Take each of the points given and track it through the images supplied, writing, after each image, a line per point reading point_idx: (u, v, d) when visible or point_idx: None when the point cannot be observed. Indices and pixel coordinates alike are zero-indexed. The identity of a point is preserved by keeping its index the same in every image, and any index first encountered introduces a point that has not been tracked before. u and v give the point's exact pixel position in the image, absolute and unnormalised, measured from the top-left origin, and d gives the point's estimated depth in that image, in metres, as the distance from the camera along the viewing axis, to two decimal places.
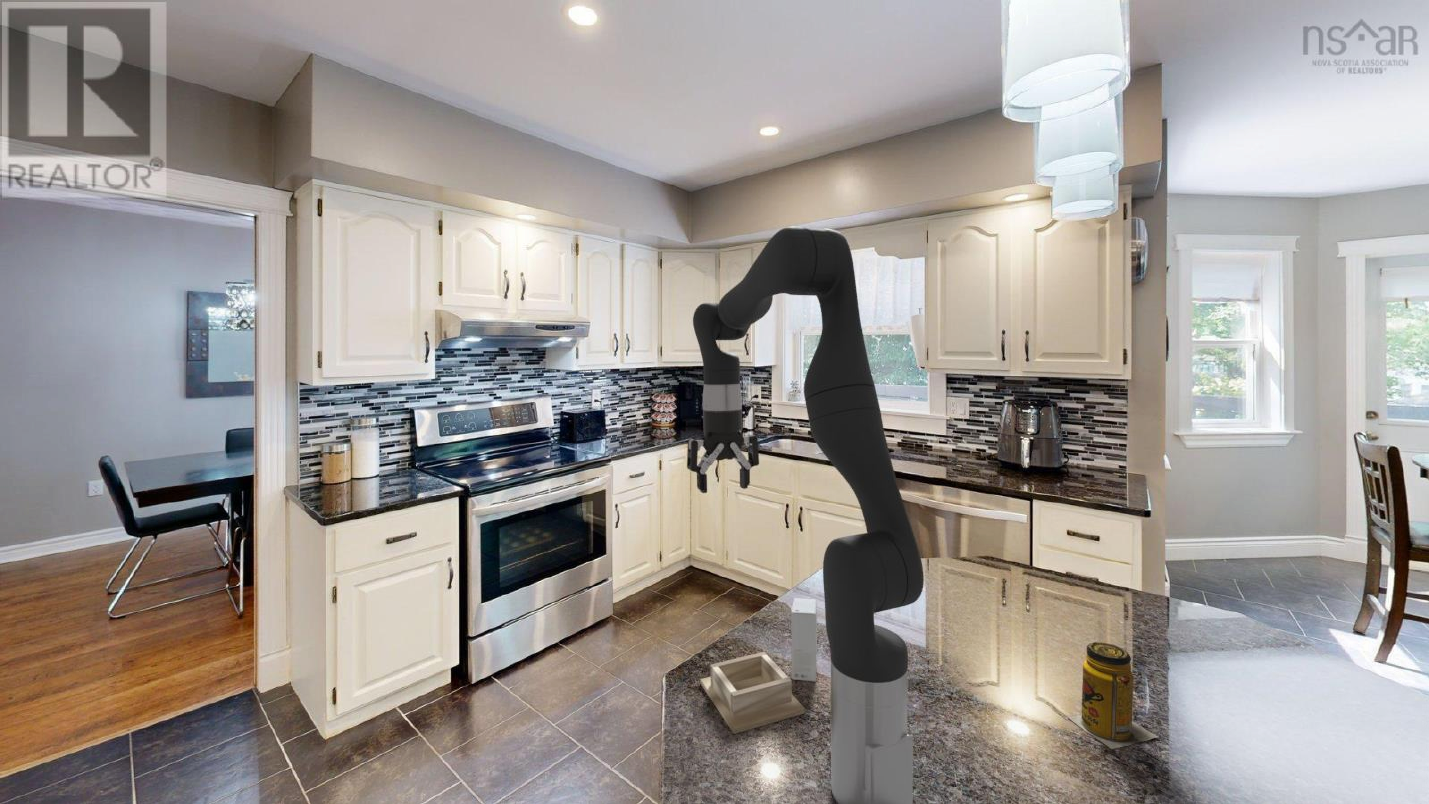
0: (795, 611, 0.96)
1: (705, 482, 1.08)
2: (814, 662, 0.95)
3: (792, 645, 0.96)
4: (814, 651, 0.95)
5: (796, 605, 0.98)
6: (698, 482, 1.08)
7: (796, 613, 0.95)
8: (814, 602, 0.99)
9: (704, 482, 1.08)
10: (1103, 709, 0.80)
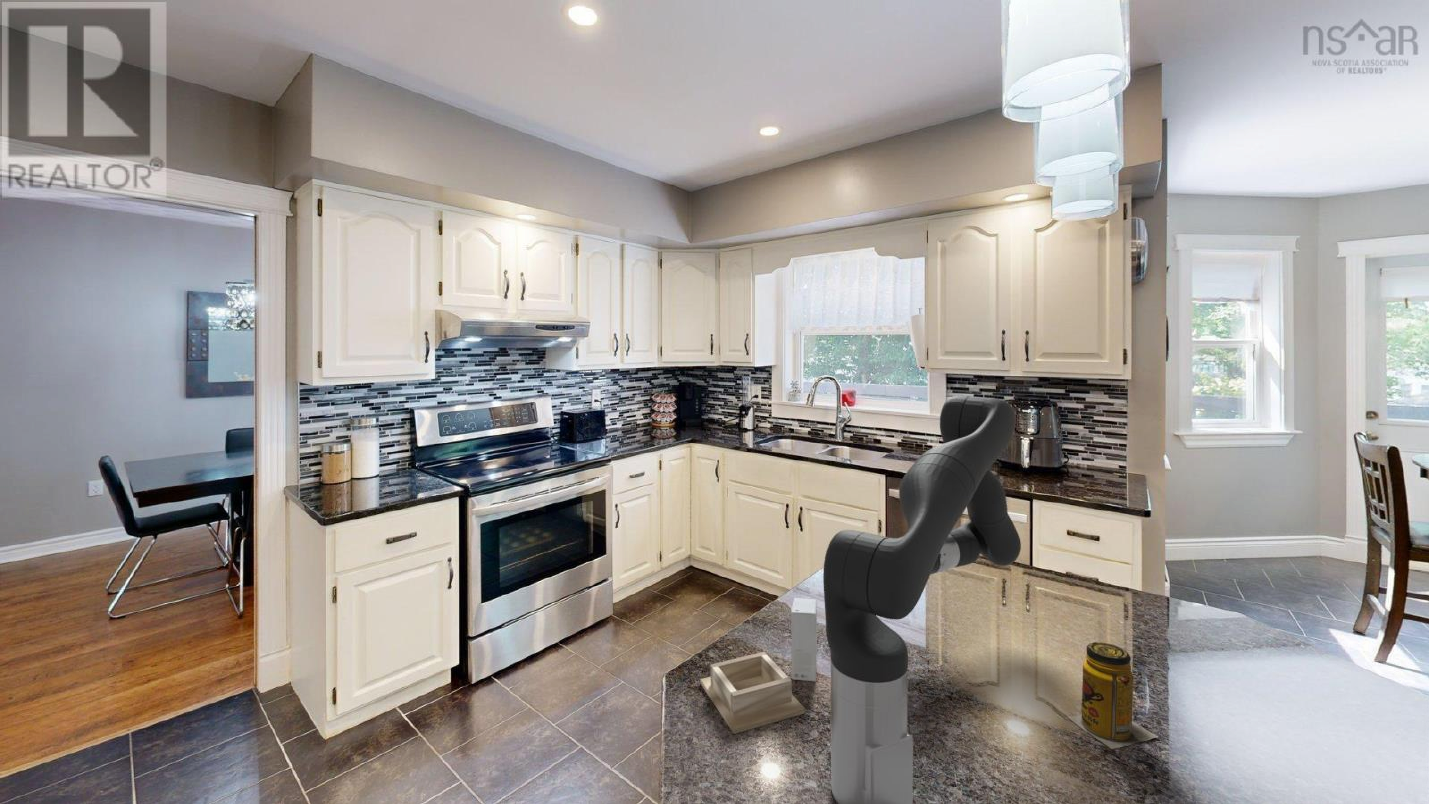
0: (795, 611, 0.96)
1: None
2: (814, 662, 0.95)
3: (792, 645, 0.96)
4: (814, 651, 0.95)
5: (796, 605, 0.98)
6: None
7: (796, 613, 0.95)
8: (814, 602, 0.99)
9: None
10: (1103, 709, 0.80)
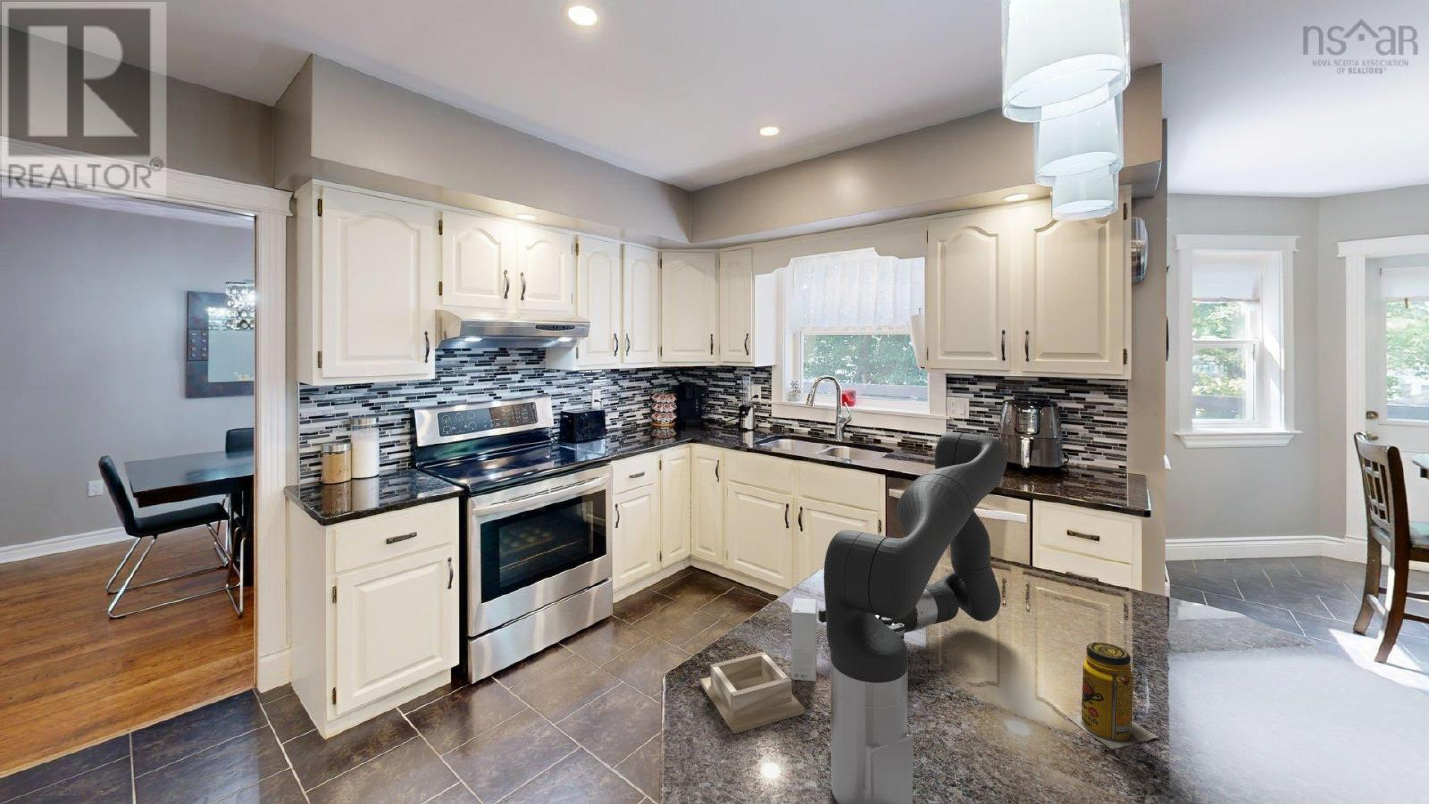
0: (795, 611, 0.96)
1: None
2: (814, 662, 0.95)
3: (792, 645, 0.96)
4: (814, 651, 0.95)
5: (796, 605, 0.98)
6: None
7: (796, 613, 0.95)
8: (814, 602, 0.99)
9: None
10: (1103, 709, 0.80)
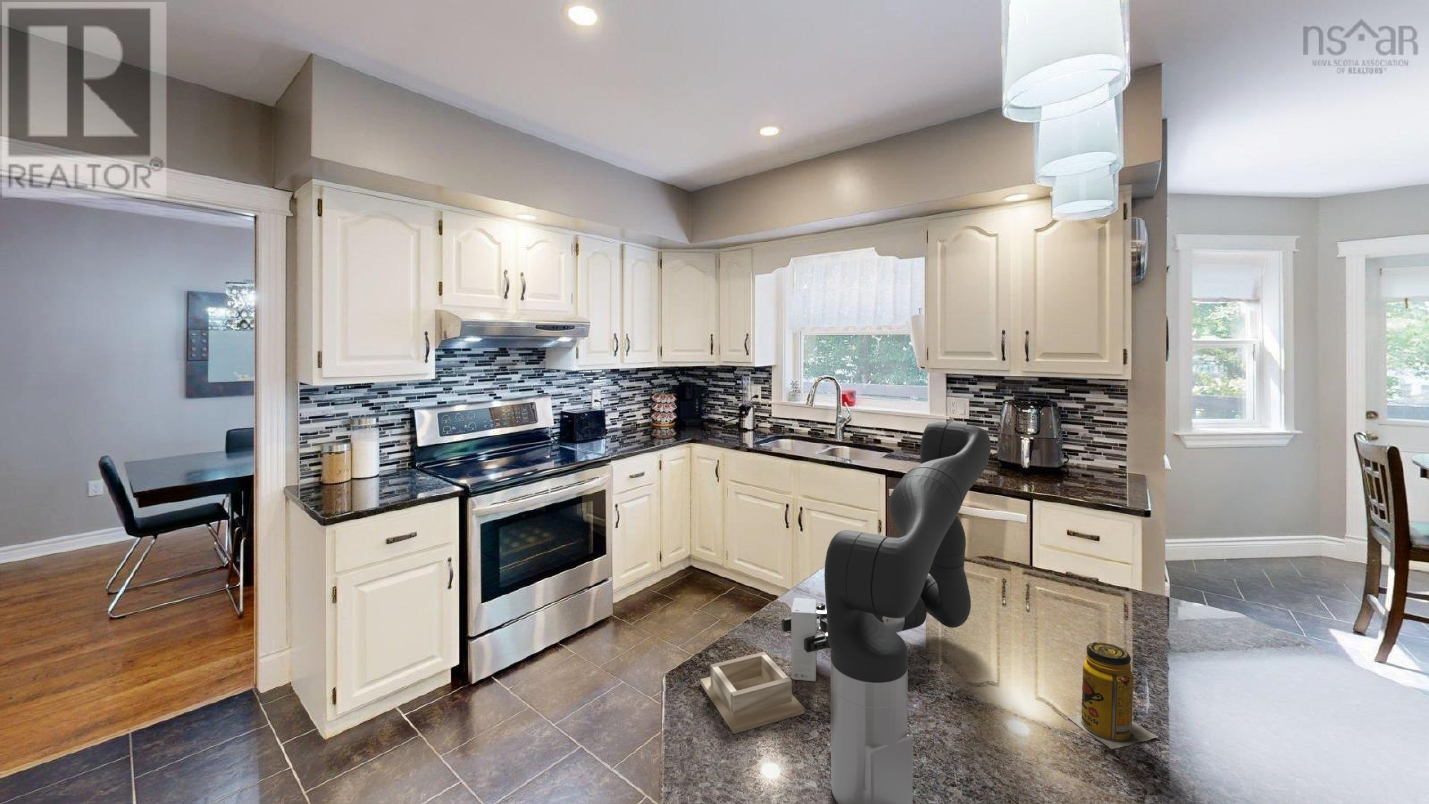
0: (795, 611, 0.96)
1: None
2: (814, 662, 0.95)
3: (792, 645, 0.96)
4: (814, 651, 0.95)
5: (796, 605, 0.98)
6: None
7: (796, 613, 0.95)
8: (814, 602, 0.99)
9: None
10: (1103, 709, 0.80)
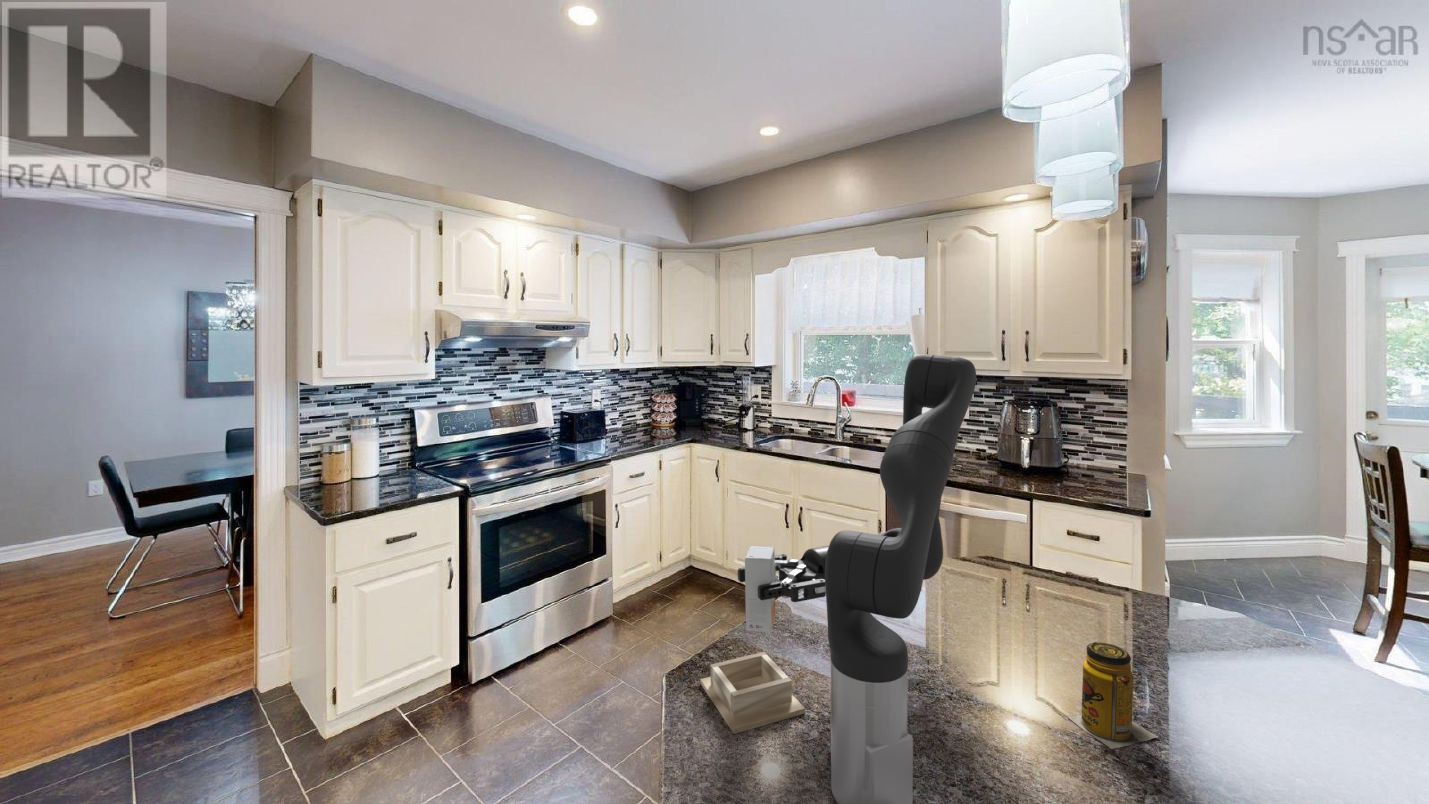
0: (749, 557, 0.89)
1: None
2: (769, 611, 0.89)
3: (746, 593, 0.89)
4: (769, 599, 0.88)
5: (751, 552, 0.91)
6: None
7: (750, 559, 0.89)
8: (771, 549, 0.92)
9: None
10: (1103, 709, 0.80)
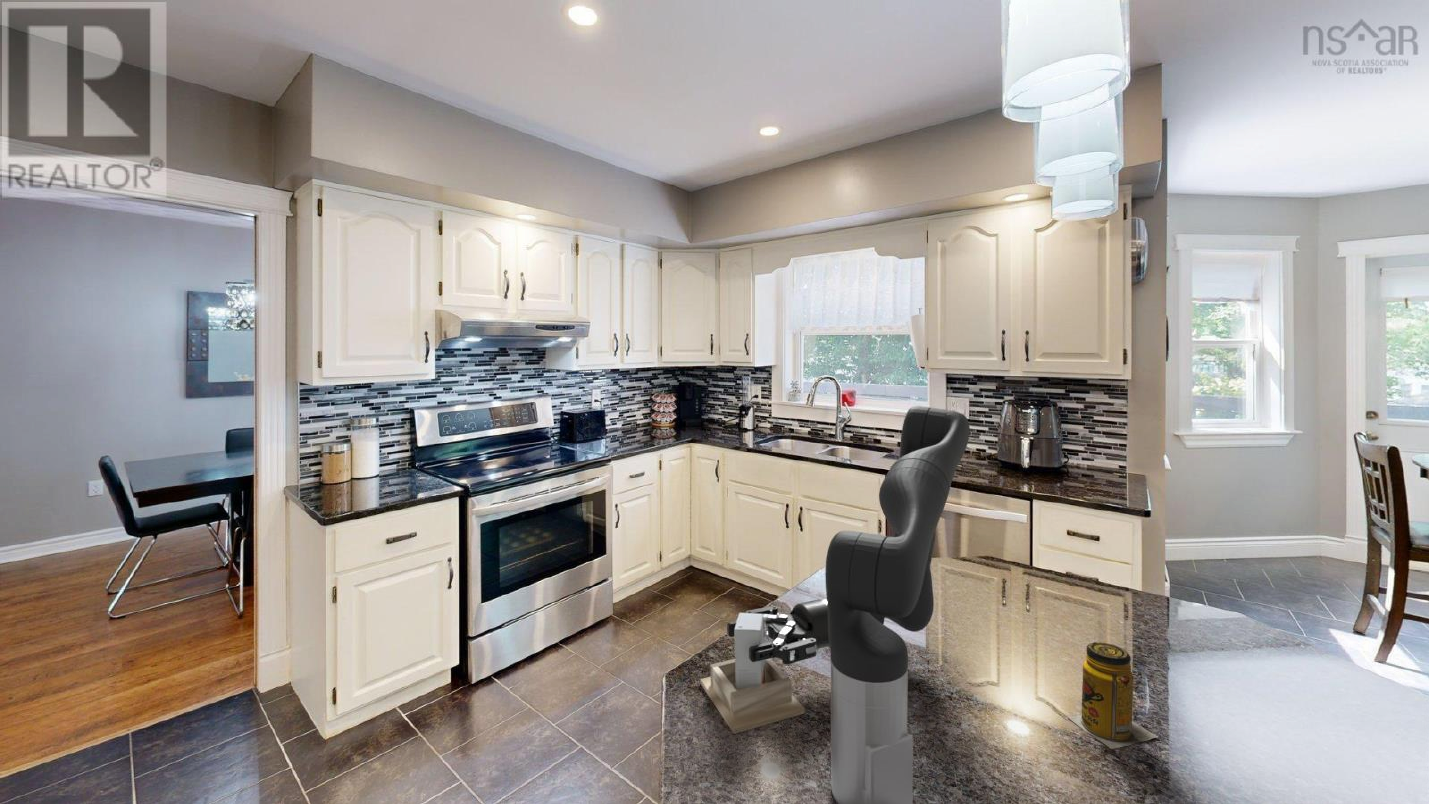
0: (738, 628, 0.89)
1: None
2: (760, 682, 0.88)
3: (736, 665, 0.89)
4: (759, 670, 0.88)
5: (740, 621, 0.91)
6: None
7: (739, 630, 0.88)
8: (760, 617, 0.92)
9: None
10: (1103, 709, 0.80)
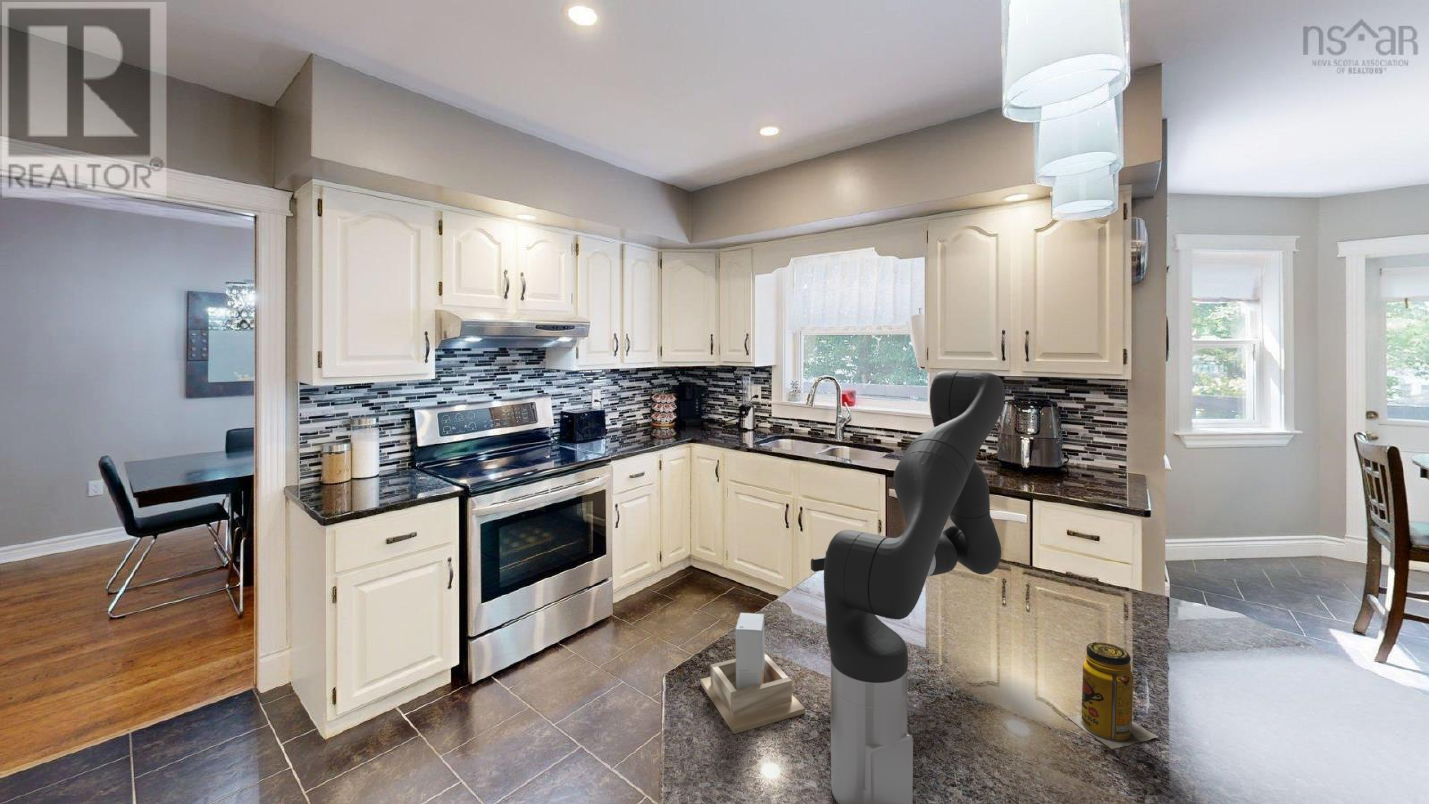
0: (739, 627, 0.89)
1: (822, 557, 1.00)
2: (760, 683, 0.88)
3: (736, 665, 0.89)
4: (760, 671, 0.88)
5: (741, 621, 0.91)
6: None
7: (741, 630, 0.88)
8: (761, 617, 0.92)
9: (821, 557, 1.00)
10: (1103, 709, 0.80)
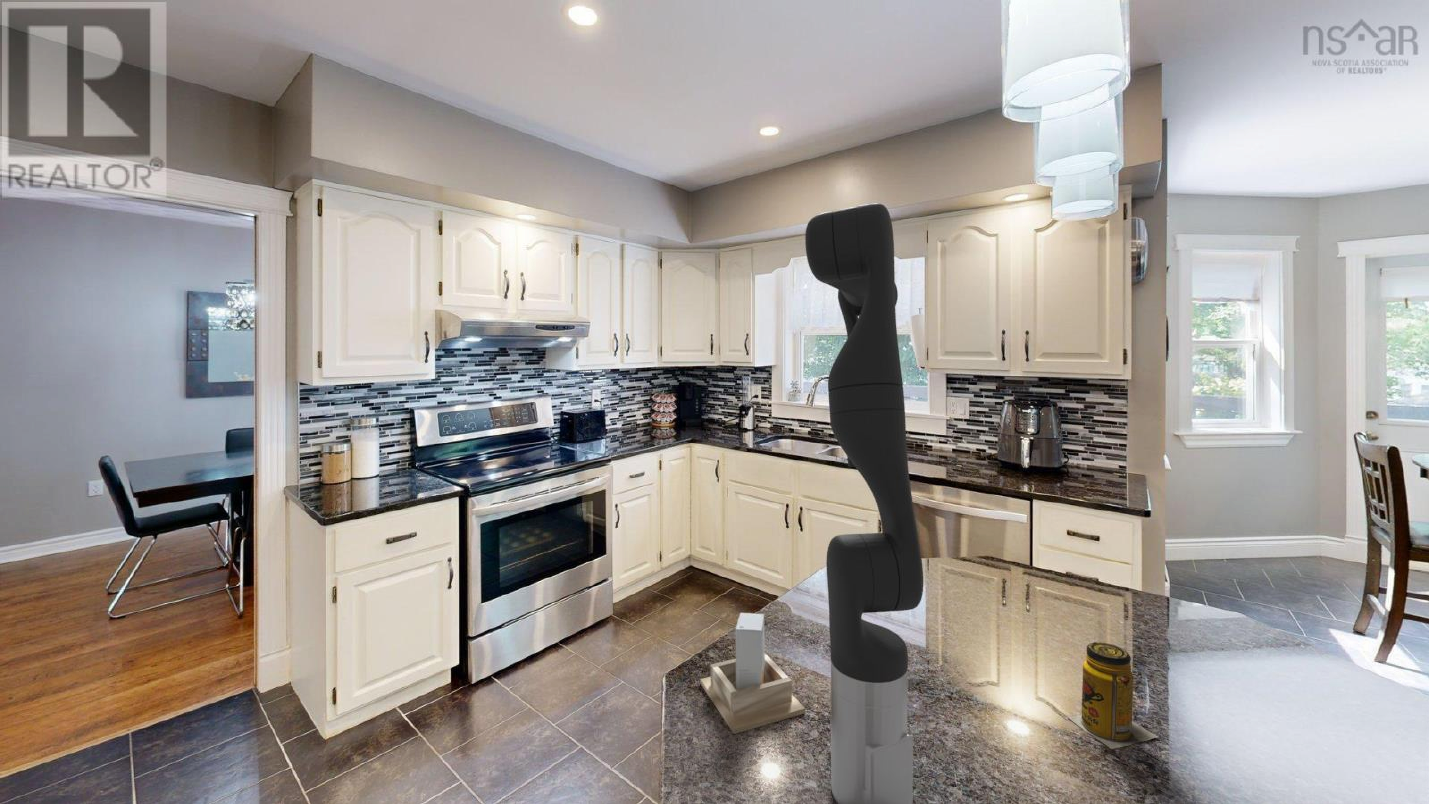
0: (739, 627, 0.89)
1: None
2: (760, 683, 0.88)
3: (736, 665, 0.89)
4: (760, 671, 0.88)
5: (741, 621, 0.91)
6: None
7: (741, 630, 0.88)
8: (761, 617, 0.92)
9: None
10: (1103, 709, 0.80)
